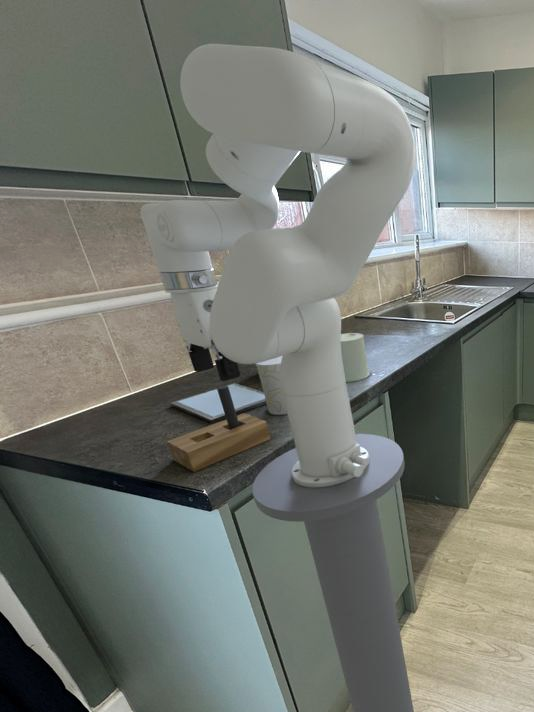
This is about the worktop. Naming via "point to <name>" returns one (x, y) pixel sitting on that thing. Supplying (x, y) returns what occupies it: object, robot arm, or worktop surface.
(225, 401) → the stylus
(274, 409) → the cup
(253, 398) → the tablet
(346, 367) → the pale green tapered cylinder
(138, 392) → the worktop surface
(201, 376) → the worktop surface
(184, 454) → the holder
